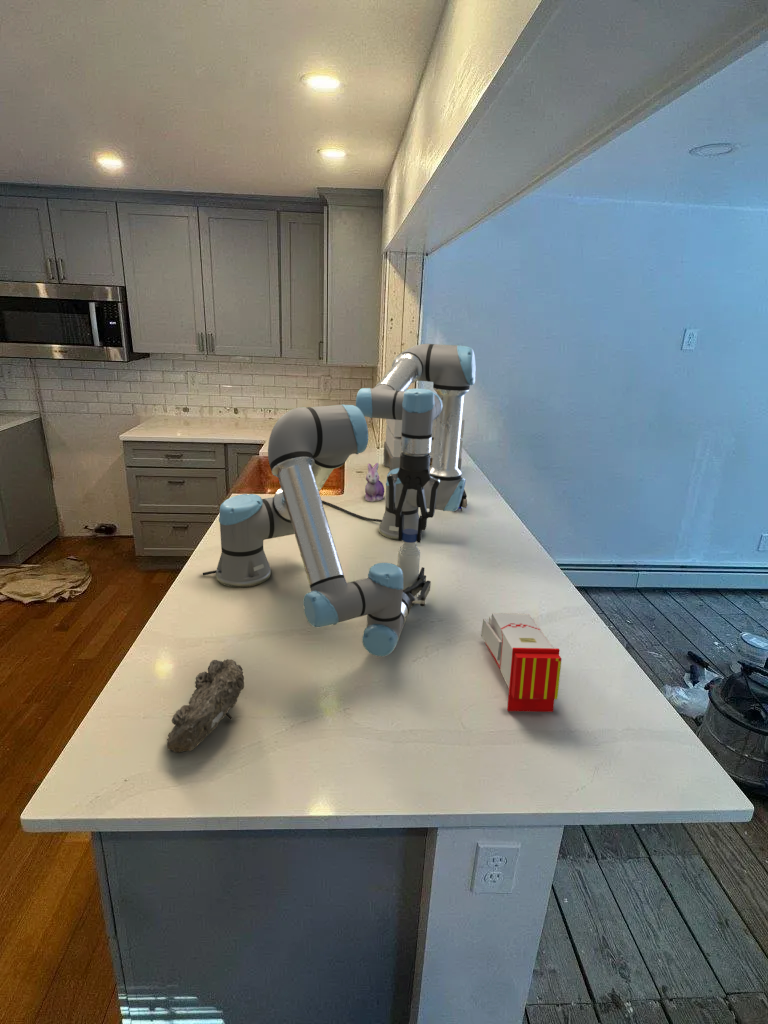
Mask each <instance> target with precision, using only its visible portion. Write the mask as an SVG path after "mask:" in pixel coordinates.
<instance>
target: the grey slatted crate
mask: <svg viewBox="0 0 768 1024" xmlns="http://www.w3.org/2000/svg"><path fill="white" fill-rule="evenodd" d="M385 423H386V428H385V438H384V442H383V466H384V467H388V468H389V472H390V471H391V470H393V469H396V468H399V467H400V454H401V453H402V451H401V450H400V448H401V433H402V420H394V419H385ZM464 429H465V419H464V418H462V423H461V434H460V445H459V456H458V469H459V470H460V471H461V472H462V461H463V460H462V453H463V442H464V441H463V440H462V439H463V438H464V431H465V430H464ZM434 431H435V420H433V425H432V439H431V452H430V453H429V455H430V466H432V457H433V444H434Z"/></svg>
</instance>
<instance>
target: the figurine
mask: <svg viewBox="0 0 768 1024" xmlns="http://www.w3.org/2000/svg"><path fill="white" fill-rule="evenodd" d="M378 469H379V462H376V463H374V466H372V464H371V463H367V473H366V475H365V480H366V484H365V487H364V492H365V494H364V499H365V501H367V502H379V501H381V500H384V497H385V486H384V484H383V482H382V481H381V480H380V475H379V473H378Z"/></svg>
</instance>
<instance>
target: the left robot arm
mask: <svg viewBox="0 0 768 1024" xmlns="http://www.w3.org/2000/svg"><path fill="white" fill-rule="evenodd" d="M368 444H369V428H368V424H367V420H366V417H364V415H363V413H362V412H361V410H360V409H359V408H358V407H356V405H354V404H343V403H342V404H335V405H321V406H300V407H294V408H292V409H290V410H288V411H286V412H285V413H283V415H281V416H280V417H279V418H278V419H277V420H276V422H275V424H274V425H273V428H272V430H271V432H270V435H269V439H268V445H267V460H268V464H269V467H270V471H271V475H273V476H274V477H276V478H277V479H278V481H279V482H278V483H279V485H280V488H279V489H277V491H276V492H275V494H274V496H272V497H267V498H262V497H261V496H260V495H258V494H254V493H249V494H247V493H242V494H237V495H234V496H231V497H229V498H226V499H225V500H224V501H223V502H222V503H221V504H220V506H219V516H218V522H219V534H220V547H221V549H220V550H221V552H220V556H219V560H218V564H217V567H216V570H210V571H204V572H202V576H208V575H213V574H215V576H216V580H217V581H218V583H220V584H221V585H224V586H227V587H233V588H247V587H255V586H258V585H261V584H264V583H265V582H266V581H268V580H269V579H270V577H271V575H272V574H271V573H272V572H271V566H270V563H269V560H268V558H267V555H266V553H265V550H264V541H265V540H270V539H276V538H281V537H287V536H292V535H294V537H295V541H296V544H297V546H298V550H299V553H300V558H301V560H302V564H303V567H304V568H303V569H304V571H305V574H306V577H307V581H308V585H309V588H310V591H309V592H306V593H305V595H304V596H303V600H302V605H303V612H304V616H305V618H306V621H307V622H308V623H309V625H310V626H312V627H314V628H317V629H318V628H319V629H320V628H323V627H328V626H331V625H333V626H335V625H337V624H339V623H343V622H346V621H350V620H353V619H357V618H359V617H363V616H366V618H367V620H366V627H365V628H364V630H363V634H362V639H361V640H362V645H363V647H364V649H365V650H366V651H367V652H368V653H369V654H371V655H372V656H376V657H382V658H383V657H386V656H389V655H391V653H392V652H393V651H394V650H395V648H396V647H397V645H398V643H399V639H400V637H401V634H402V631H403V628H404V627H405V623H406V621H407V619H408V616H409V614H410V612H411V609H412V607H413V606H415V604H417V605H419V606H420V607H425V606H426V600H427V597H428V595H429V593H430V591H431V584H432V582H431V580H427V575H425V567H421V569H420V570H419V576H418V581H417V582H416V583H415V584H413V585H412V586H411V587H407V588H406V589H405V590H403V588H404V587H403V572H402V570H401V568H399V567H398V566H397V564H394V563H390V562H378V563H375V564H373V565H372V566H370V568H369V569H368V573H367V577H366V578H361V579H358V580H353V581H348V582H347V580H346V577H345V575H344V571H343V568H342V564H341V562H340V558H339V554H338V551H337V548H336V544H335V541H334V538H333V534H332V530H331V527H330V524H329V520H328V517H327V515H326V514H327V513H326V511H325V507H324V503H322V501H323V500H322V498H321V495H320V492H321V490H322V488H323V487H324V485H325V483H326V482H327V481H328V479H329V477H330V475H331V474H332V472H333V471H334V470H335V469H338V468H340V467H342V466H344V464H345V463H346V462H347V460H348V459H349V457H350V456H351V455H359V454H362V453H364V452H365V451H366V449H367V447H368ZM321 500H322V501H321ZM416 594H417V598H414V596H415V595H416Z"/></svg>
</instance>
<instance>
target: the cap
mask: <svg viewBox="0 0 768 1024" xmlns="http://www.w3.org/2000/svg"><path fill="white" fill-rule="evenodd" d="M417 536H418V531H417V530H415V529H404V530H403V531H402V540H401V541H403V543H404V542H408V543H414V542H416V543H417Z"/></svg>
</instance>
